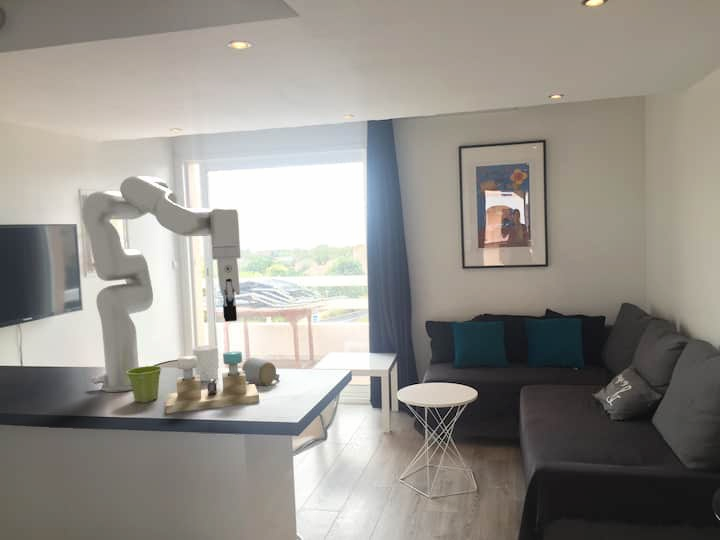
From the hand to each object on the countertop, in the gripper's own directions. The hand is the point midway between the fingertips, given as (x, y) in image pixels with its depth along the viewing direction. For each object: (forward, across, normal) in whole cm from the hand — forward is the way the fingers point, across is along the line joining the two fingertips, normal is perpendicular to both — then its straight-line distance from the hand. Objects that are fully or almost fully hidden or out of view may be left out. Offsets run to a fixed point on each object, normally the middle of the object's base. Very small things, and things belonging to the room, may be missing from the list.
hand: (230, 319), depth 159 cm
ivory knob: (+17, 0, +12) cm, 21 cm away
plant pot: (+23, +10, +24) cm, 34 cm away
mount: (+22, 0, +6) cm, 23 cm away
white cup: (+23, +27, +7) cm, 36 cm away
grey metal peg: (+20, 0, +6) cm, 21 cm away
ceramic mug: (+23, +14, -9) cm, 28 cm away
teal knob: (+17, 0, 0) cm, 17 cm away
